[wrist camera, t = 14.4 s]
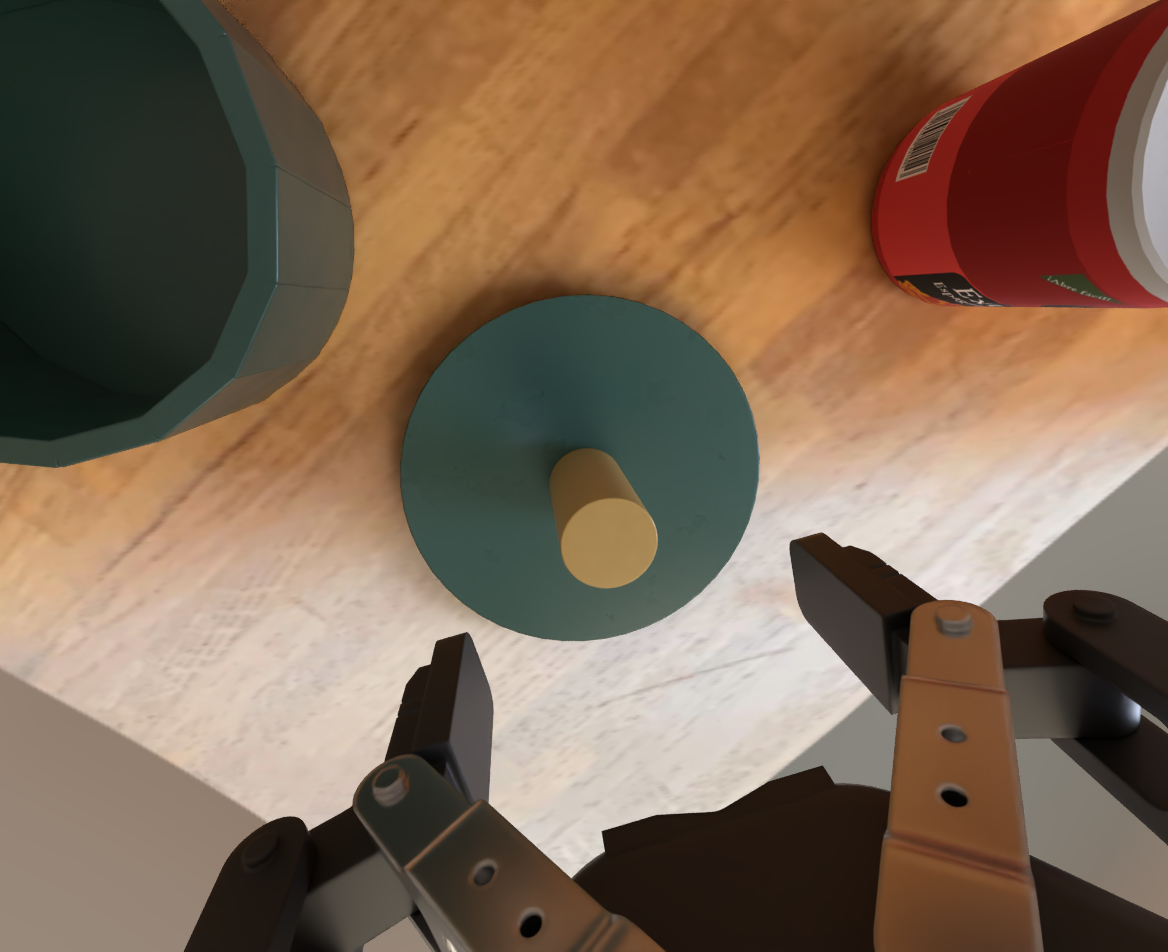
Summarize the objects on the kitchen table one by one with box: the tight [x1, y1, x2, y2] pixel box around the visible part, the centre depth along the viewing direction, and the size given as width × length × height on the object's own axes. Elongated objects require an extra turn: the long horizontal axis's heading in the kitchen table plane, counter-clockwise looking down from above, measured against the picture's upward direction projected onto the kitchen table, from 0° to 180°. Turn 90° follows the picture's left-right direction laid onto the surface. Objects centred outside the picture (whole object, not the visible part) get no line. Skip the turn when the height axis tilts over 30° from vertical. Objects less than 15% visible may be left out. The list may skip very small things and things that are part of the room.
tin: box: [0, 0, 354, 468], centre depth 17 cm, size 15×15×8 cm
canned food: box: [871, 0, 1168, 308], centre depth 19 cm, size 8×8×11 cm
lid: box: [400, 294, 760, 641], centre depth 22 cm, size 16×16×8 cm
